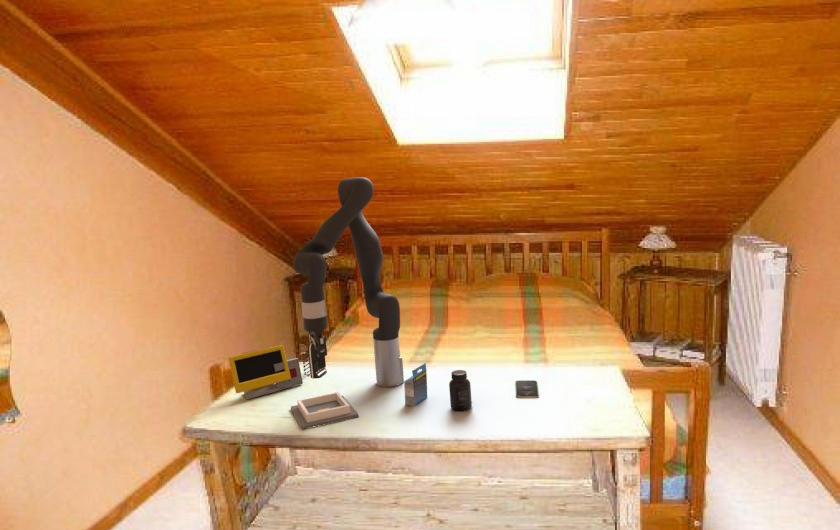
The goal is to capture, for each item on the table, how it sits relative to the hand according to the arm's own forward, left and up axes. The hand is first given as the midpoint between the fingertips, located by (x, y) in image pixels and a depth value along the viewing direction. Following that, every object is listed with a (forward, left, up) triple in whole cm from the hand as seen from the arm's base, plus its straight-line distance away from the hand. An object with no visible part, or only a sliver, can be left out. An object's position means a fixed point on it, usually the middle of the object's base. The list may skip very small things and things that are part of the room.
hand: (319, 364), depth 198 cm
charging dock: (0, 0, -17) cm, 17 cm away
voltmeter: (0, -36, -17) cm, 40 cm away
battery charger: (0, 0, -4) cm, 4 cm away
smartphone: (-66, +18, -17) cm, 71 cm away
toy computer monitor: (+15, -30, -17) cm, 38 cm away
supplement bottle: (-40, +20, -17) cm, 48 cm away
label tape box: (-30, +7, -17) cm, 35 cm away
